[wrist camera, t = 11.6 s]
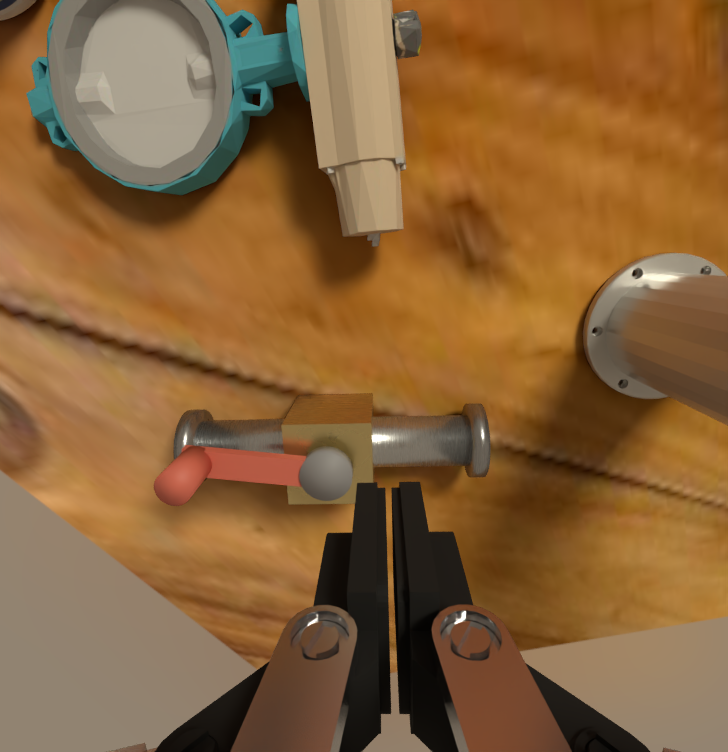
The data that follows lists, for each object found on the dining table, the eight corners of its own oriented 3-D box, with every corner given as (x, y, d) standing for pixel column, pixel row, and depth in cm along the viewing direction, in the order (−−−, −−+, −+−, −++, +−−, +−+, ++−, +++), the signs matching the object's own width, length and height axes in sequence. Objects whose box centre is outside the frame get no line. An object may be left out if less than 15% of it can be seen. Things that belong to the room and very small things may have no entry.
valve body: (474, 390, 41) (497, 423, 33) (472, 459, 43) (493, 505, 35) (199, 397, 42) (158, 429, 34) (208, 464, 44) (172, 509, 36)
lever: (355, 448, 34) (351, 479, 29) (350, 495, 35) (347, 531, 30) (183, 432, 34) (152, 460, 29) (184, 479, 35) (155, 512, 30)
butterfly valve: (115, 276, 42) (434, 240, 37) (57, 281, 35) (434, 238, 30) (30, -67, 35) (408, -170, 30) (-63, -141, 28) (402, -288, 23)
